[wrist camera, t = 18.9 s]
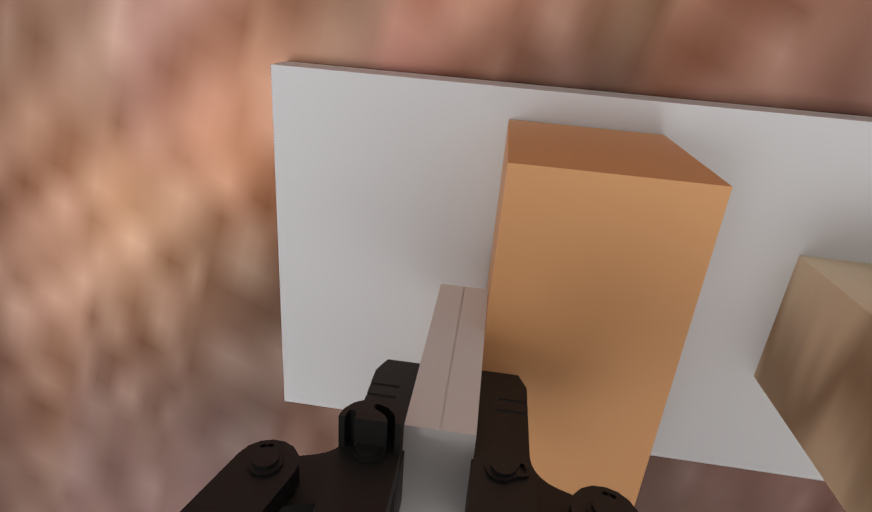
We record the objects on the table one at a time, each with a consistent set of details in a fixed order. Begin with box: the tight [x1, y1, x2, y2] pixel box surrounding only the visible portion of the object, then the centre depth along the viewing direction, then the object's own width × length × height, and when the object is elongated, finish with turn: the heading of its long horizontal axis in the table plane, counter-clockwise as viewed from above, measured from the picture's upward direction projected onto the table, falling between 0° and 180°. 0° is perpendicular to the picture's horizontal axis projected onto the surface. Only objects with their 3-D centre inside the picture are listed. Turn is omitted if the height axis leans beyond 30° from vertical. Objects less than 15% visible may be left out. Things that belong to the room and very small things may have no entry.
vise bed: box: [271, 61, 872, 481], centre depth 18 cm, size 14×30×8 cm, turn 85°
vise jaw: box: [482, 119, 732, 506], centre depth 18 cm, size 12×5×6 cm, turn 175°
